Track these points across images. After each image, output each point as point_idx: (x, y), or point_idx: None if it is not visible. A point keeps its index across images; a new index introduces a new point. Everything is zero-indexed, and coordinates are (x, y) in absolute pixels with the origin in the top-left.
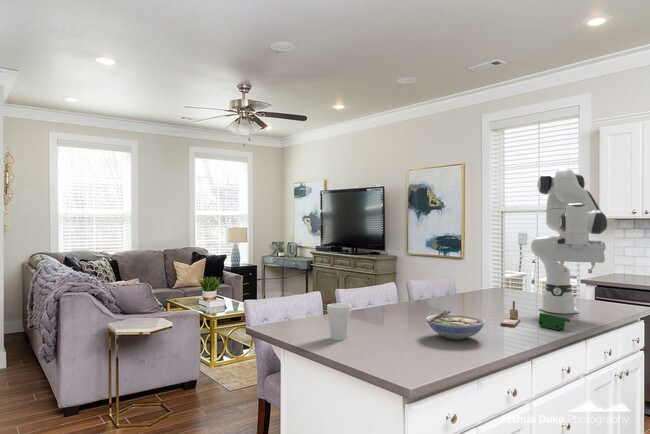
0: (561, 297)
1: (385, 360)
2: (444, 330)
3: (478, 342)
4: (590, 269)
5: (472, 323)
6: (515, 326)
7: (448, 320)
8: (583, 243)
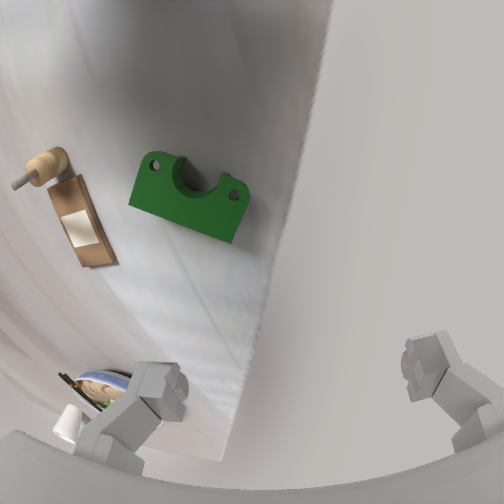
0: None
1: (160, 441)
2: None
3: None
4: (431, 392)
5: None
6: (111, 249)
7: (102, 397)
8: None
